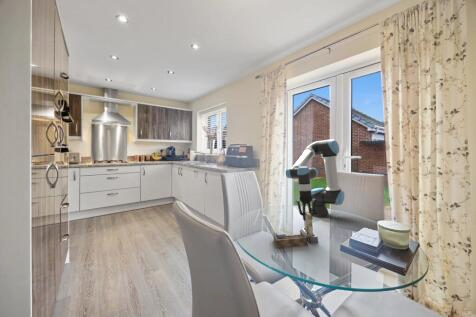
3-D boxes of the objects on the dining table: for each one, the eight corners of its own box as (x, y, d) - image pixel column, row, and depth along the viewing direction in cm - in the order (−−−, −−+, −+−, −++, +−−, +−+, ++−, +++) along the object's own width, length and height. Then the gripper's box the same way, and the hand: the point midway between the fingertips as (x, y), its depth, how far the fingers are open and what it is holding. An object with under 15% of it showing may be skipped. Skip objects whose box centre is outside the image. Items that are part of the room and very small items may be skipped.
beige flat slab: (313, 237, 126) (311, 214, 125) (310, 238, 126) (308, 214, 125) (307, 231, 137) (306, 209, 136) (305, 231, 137) (303, 210, 136)
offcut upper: (283, 235, 132) (283, 231, 132) (286, 238, 127) (285, 234, 127) (276, 236, 132) (275, 232, 132) (278, 239, 127) (277, 235, 127)
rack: (302, 237, 133) (301, 229, 133) (307, 245, 121) (307, 237, 121) (274, 239, 134) (273, 232, 134) (277, 248, 122) (276, 240, 121)
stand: (301, 233, 139) (301, 227, 139) (309, 232, 139) (309, 226, 139) (309, 243, 123) (308, 237, 123) (318, 242, 123) (317, 236, 123)
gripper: (314, 187, 134) (317, 222, 135) (292, 189, 135) (295, 223, 135) (318, 189, 127) (321, 226, 127) (295, 192, 127) (298, 228, 128)
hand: (308, 224), depth 131 cm, fingers closed on beige flat slab, 2 cm apart
